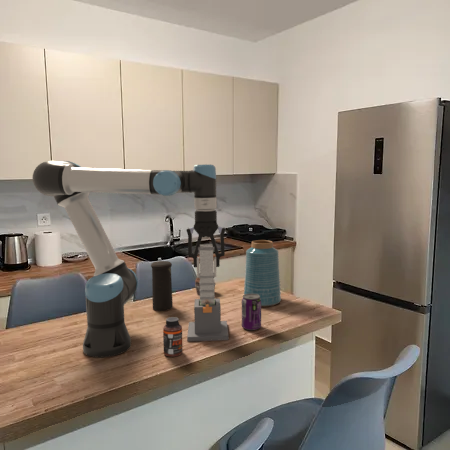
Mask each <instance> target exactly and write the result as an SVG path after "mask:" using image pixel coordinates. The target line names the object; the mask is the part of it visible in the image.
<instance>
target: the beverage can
mask: <svg viewBox="0 0 450 450" xmlns="http://www.w3.org/2000/svg"><path fill="white" fill-rule="evenodd" d="M241 327H242V328H243V329H245V330H247V331H256V330H258V329H260V328H262V307H261V300H260V296H259V295H258V294H245V295H244V294H243V295H242V299H241Z"/></svg>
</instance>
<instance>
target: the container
mask: <svg viewBox="0 0 450 450" xmlns="http://www.w3.org/2000/svg"><path fill="white" fill-rule="evenodd" d="M172 266H173V264H172V262H170V261H168V260H167V261H166V260H159V261H157V260H156V261H154V262H152V263H151V264H150V267H151V275H152V276H151V284H152V292H151V293H152V310H153V311H155V312H165V311H169V310H171V309H172V308H173V304H174V303H173V288H172V287H173V286H172Z"/></svg>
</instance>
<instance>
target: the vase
mask: <svg viewBox="0 0 450 450" xmlns="http://www.w3.org/2000/svg"><path fill="white" fill-rule="evenodd" d="M279 259H280V258H279V250H278V249H277V248H275V247H274V242H273V241H272V240H266V239H258V240H252V241H251V247H249V248H248V249H246V251H245V267H244V268H245V270H244V272H245V273H244V284H243V290H244V291H243V295H245V294H258V295H259V296H260V300H261V308H266V307H267V308H268V307H272V306H276V305H278V304H279V303H280V302H281V301H282V295H281V294H282V292H281V290H282V289H281V279H280V277H281V276H280V260H279Z"/></svg>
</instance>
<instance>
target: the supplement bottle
mask: <svg viewBox="0 0 450 450" xmlns="http://www.w3.org/2000/svg"><path fill="white" fill-rule="evenodd" d="M165 323H166V324H164V326H163V327H162V331H163V332H162V333H163V335H162V337H163V354H164V356H166V357H169V358H174V357H179V356H181V355H182V354H183V326H182V325H181V324H180V319H179V318H178V317H177V316H175V317H174V316H171V317H170V316H169V317H166V319H165Z"/></svg>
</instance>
